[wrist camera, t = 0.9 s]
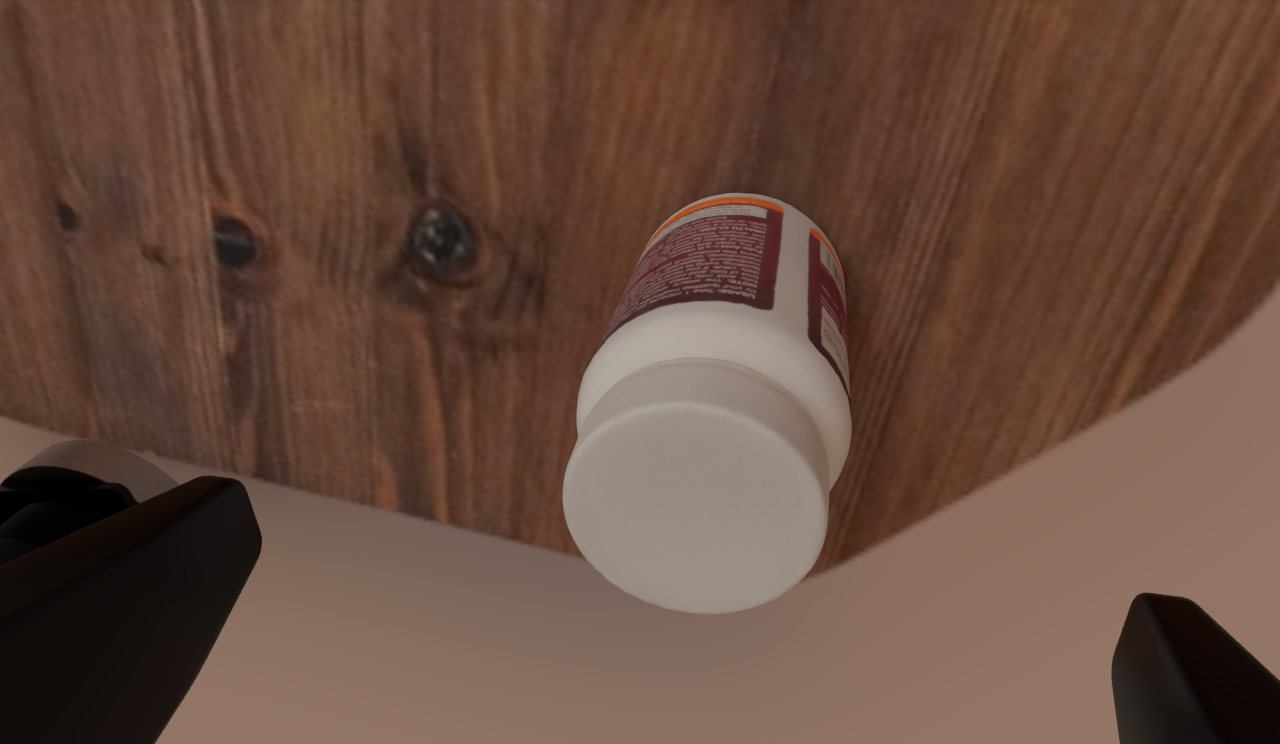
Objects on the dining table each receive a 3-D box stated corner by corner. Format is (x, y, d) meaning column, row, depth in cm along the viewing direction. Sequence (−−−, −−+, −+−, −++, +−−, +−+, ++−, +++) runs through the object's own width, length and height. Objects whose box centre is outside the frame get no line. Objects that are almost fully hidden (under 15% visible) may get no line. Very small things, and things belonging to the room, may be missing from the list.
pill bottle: (605, 317, 21) (489, 545, 14) (700, 148, 19) (619, 319, 12) (774, 411, 22) (745, 680, 14) (890, 257, 19) (923, 489, 12)
